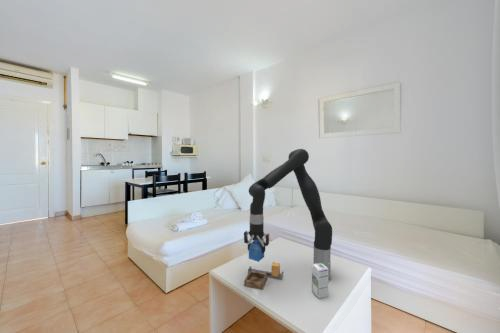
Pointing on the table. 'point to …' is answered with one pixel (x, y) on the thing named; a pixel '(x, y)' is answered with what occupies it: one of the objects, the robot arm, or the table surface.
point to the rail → (267, 274)
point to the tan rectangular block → (274, 269)
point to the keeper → (255, 280)
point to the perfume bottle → (256, 250)
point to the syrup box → (320, 280)
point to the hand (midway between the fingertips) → (256, 251)
